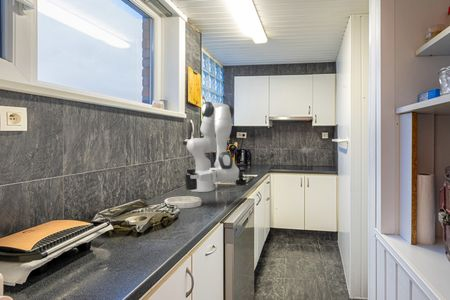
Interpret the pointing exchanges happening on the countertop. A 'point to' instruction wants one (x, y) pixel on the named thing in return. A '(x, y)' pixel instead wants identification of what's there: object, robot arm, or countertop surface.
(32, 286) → the countertop surface
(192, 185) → the supplement bottle
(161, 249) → the countertop surface
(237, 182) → the french press
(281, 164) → the countertop surface
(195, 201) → the ceramic bowl
